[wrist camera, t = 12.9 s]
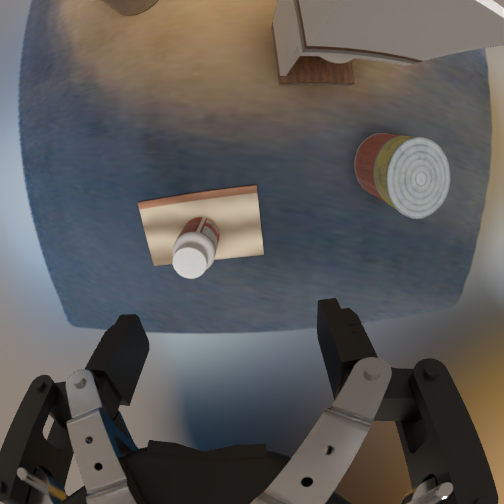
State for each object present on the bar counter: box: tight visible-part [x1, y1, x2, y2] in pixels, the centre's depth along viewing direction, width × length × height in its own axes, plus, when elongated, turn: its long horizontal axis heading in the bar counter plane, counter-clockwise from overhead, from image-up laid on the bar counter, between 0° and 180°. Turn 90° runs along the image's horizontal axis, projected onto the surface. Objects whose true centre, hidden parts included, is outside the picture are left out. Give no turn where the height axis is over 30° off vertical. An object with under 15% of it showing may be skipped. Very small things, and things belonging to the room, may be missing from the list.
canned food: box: [354, 133, 450, 219], centre depth 36 cm, size 11×11×12 cm
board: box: [138, 185, 264, 266], centre depth 45 cm, size 12×20×1 cm, turn 96°
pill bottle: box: [173, 216, 220, 279], centre depth 40 cm, size 6×6×11 cm
